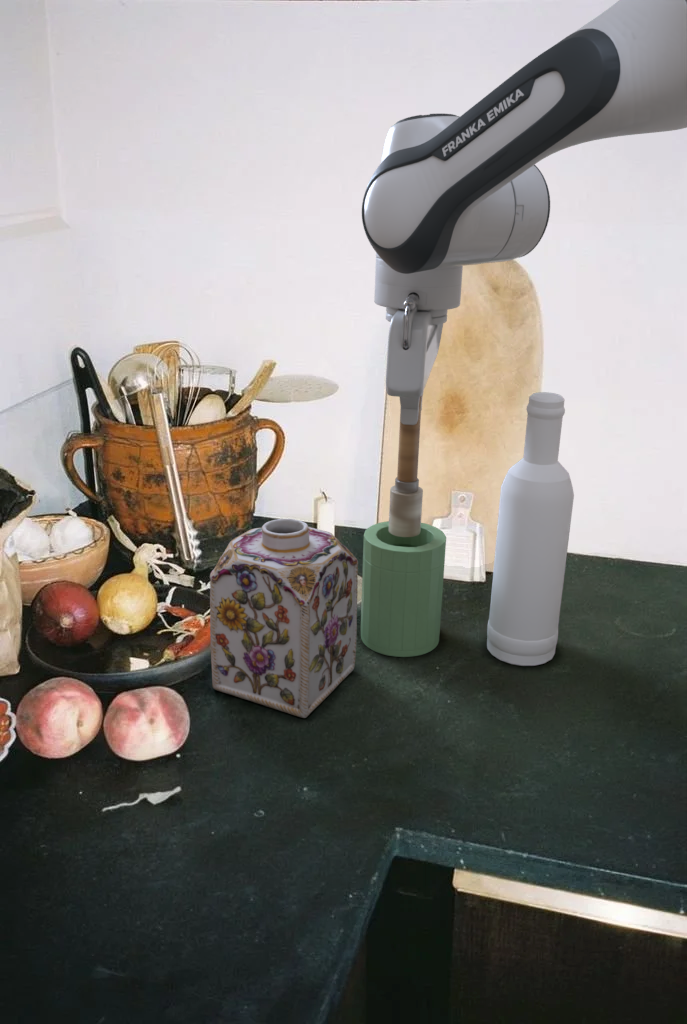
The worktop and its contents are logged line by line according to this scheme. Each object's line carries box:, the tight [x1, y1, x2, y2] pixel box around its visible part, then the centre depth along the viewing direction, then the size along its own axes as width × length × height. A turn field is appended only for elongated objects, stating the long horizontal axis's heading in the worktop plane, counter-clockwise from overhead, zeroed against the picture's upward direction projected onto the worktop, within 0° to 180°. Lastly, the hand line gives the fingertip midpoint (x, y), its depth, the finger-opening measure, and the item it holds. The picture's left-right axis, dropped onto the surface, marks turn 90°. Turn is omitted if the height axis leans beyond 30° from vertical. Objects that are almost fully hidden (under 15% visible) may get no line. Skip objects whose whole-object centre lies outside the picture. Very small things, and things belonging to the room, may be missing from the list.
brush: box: [388, 396, 424, 537], centre depth 102 cm, size 4×4×18 cm
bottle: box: [486, 391, 575, 667], centre depth 103 cm, size 8×8×30 cm
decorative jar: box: [209, 518, 359, 719], centre depth 97 cm, size 12×12×18 cm
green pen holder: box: [360, 520, 447, 658], centre depth 108 cm, size 9×9×13 cm
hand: (411, 418), depth 100 cm, fingers closed on brush, 2 cm apart
